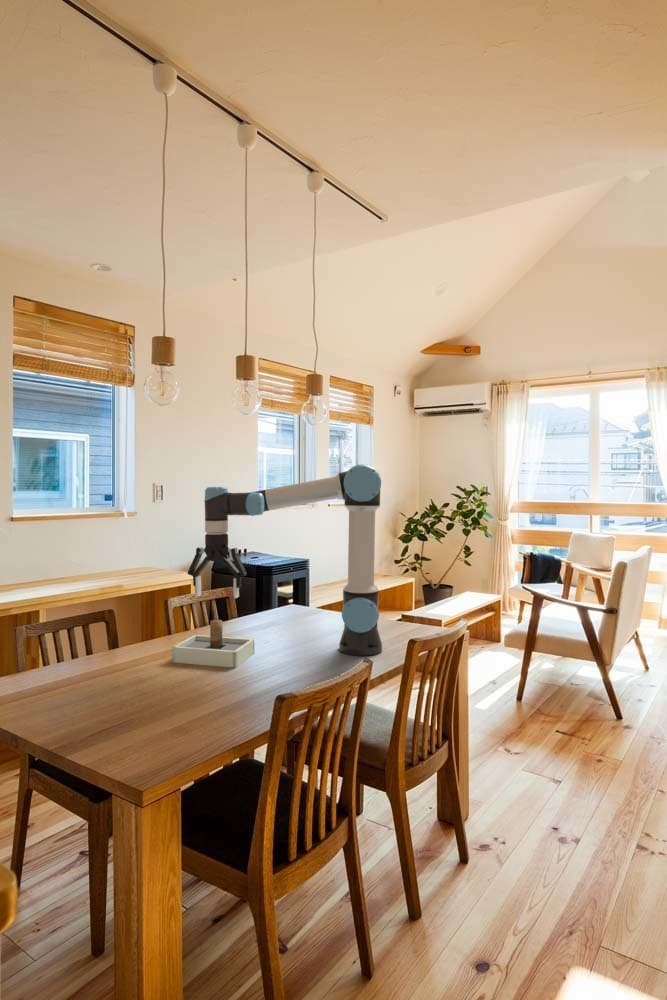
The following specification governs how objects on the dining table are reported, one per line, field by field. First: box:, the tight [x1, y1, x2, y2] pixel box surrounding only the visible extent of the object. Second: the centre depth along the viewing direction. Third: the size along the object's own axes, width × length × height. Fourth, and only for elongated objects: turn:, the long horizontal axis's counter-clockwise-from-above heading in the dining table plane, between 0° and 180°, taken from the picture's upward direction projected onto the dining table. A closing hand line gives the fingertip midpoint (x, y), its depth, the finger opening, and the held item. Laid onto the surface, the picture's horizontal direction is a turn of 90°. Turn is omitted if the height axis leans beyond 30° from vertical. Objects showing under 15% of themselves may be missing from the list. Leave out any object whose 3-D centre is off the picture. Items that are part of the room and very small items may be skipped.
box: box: [171, 634, 255, 669], centre depth 202 cm, size 22×16×5 cm
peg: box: [209, 619, 223, 649], centre depth 203 cm, size 4×4×12 cm
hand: (217, 596), depth 203 cm, fingers open, 13 cm apart
